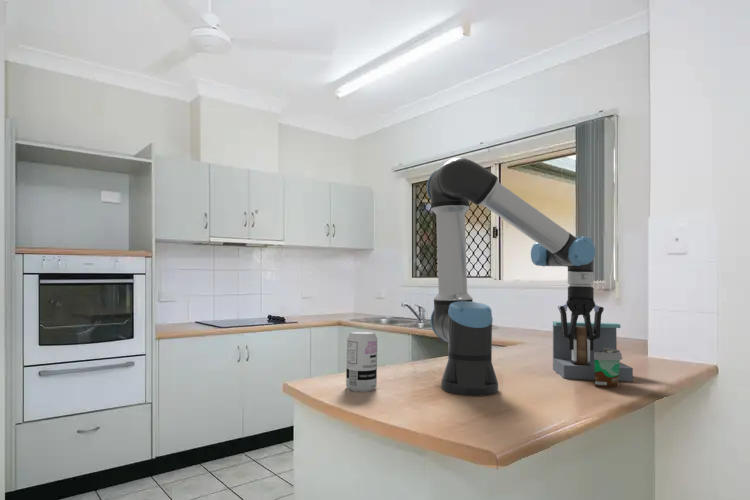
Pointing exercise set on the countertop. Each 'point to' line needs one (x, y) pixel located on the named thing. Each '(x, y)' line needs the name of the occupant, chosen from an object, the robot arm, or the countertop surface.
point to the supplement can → (361, 361)
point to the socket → (607, 340)
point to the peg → (581, 345)
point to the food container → (607, 368)
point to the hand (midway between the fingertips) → (580, 360)
